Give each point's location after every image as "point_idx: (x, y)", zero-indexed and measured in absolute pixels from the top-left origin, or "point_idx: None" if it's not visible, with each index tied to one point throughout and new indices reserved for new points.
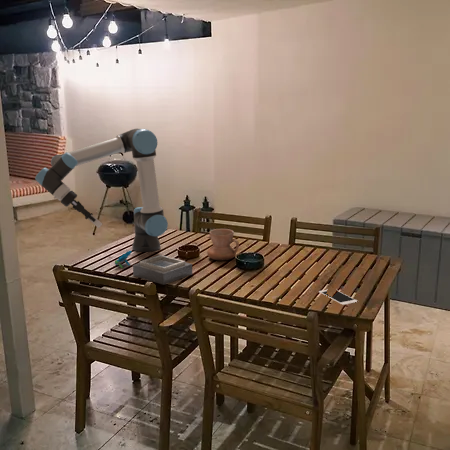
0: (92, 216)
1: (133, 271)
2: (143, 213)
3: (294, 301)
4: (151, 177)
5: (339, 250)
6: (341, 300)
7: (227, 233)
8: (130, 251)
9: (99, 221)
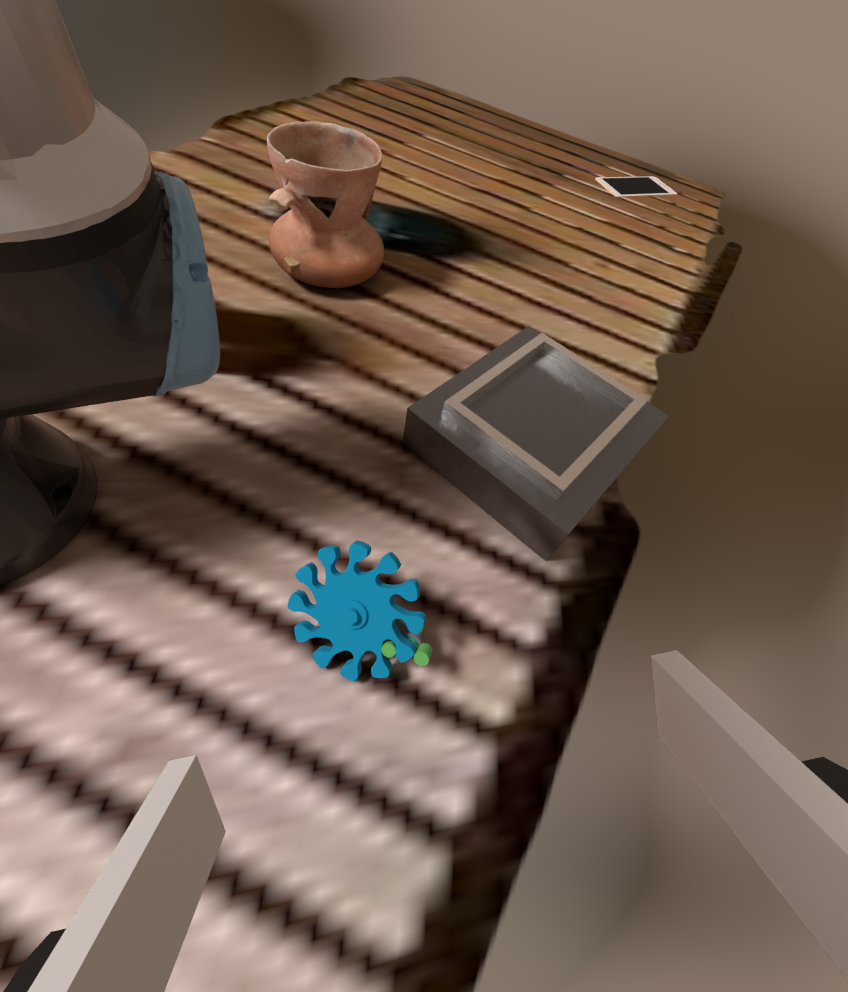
0: None
1: (555, 549)
2: (82, 235)
3: (682, 235)
4: None
5: (317, 96)
6: (658, 189)
7: (291, 148)
8: (365, 544)
9: (723, 694)
